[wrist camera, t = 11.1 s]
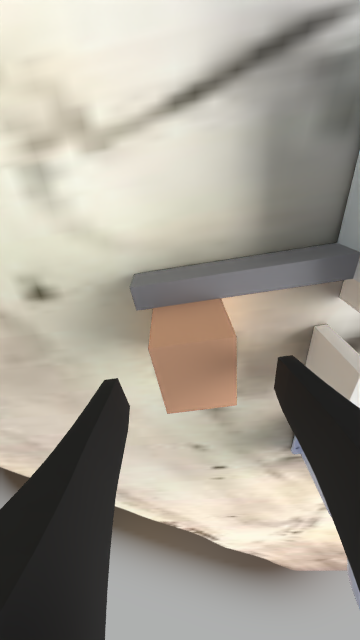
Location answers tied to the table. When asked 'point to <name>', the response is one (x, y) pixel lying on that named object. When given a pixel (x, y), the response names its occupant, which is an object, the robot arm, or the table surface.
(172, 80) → the table surface
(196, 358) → the block
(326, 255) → the sliding door
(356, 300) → the white thin slab
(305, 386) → the robot arm
